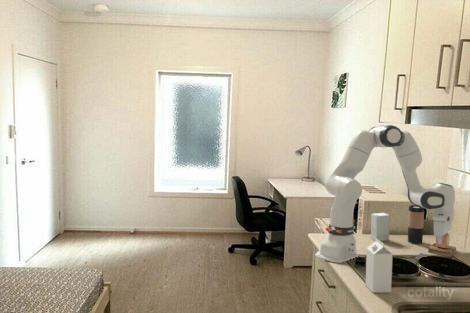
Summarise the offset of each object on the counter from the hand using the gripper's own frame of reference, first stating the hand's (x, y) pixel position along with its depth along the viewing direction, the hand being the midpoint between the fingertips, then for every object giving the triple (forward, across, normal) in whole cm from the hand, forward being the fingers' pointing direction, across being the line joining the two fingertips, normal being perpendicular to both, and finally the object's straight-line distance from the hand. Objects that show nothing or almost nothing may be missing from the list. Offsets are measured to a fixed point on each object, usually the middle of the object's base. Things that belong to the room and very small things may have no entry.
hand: (442, 241), depth 185 cm
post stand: (+5, 0, 0) cm, 5 cm away
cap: (+2, 0, 0) cm, 2 cm away
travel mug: (+5, -7, -15) cm, 17 cm away
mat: (+5, +17, -2) cm, 18 cm away
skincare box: (+5, +2, -31) cm, 32 cm away
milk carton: (+5, +67, -7) cm, 68 cm away
